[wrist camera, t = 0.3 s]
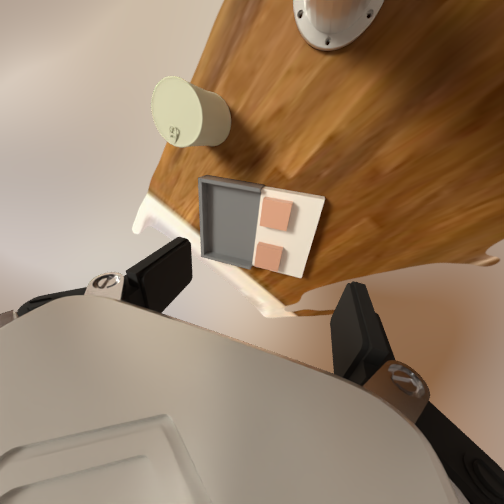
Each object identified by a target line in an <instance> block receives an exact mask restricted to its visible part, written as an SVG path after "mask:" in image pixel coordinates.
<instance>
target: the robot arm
mask: <svg viewBox="0 0 504 504" xmlns="http://www.w3.org/2000/svg"><path fill="white" fill-rule="evenodd" d="M383 2H384V0H293V8H294V16H295V20H296V24H297V27H298V30H299V32H300V34H301V36H302V37H303V38H304V40H305V41H306V42H307V43H308V44H309V45H311V46H312V47H313V48H316V49H318V50H323V51H332V50H337V49H340V48H342V47H345V46H346V45H348V44H350V43H351V42H353V41H354V40H355V39H357V38H358V37H359V36H360V35H361V34H362V33H363V32H364V31H365V30H366V29H367V28H368V26H369V25H370V24H371V23H372V21H373V20H374V18H375V17H376V15H377V14H378V12H379V10H380V8H381V6H382V4H383ZM300 15H302V18H300V19H299V16H300ZM368 15H370V18H369V19H368V18H367V16H368ZM327 42H329V45H326V43H327ZM126 273H127V275H125V276H123V275H122V274H120V273H115V272H110V273H104V274H101V275H98V276H97V277H95V278H93V279H92V280H91V281H90V282H89V284H88V286H87V287H85V288H80V289H75V290H70V291H65V292H58V293H53V294H48V295H43V296H39V297H36V298H33V299H32V300H30V301H28V302H26V303H25V304H23V305H22V306H21V307H20V308H19V309H18V312H14V311H13V310H11V311H8V312H5V313H2V314H0V504H504V471H503V470H502V469H501V468H500V467H499V466H498V464H497V463H495V461H493V460H492V459H491V458H490V457H489V456H488V455H487V454H486V453H485V452H484V451H483V450H481V449H480V448H479V447H478V446H477V445H476V444H475V443H474V442H473V441H472V440H471V439H470V438H469V437H467V436H466V435H465V434H464V433H463V432H462V431H461V430H460V429H459V428H458V427H457V426H456V425H454V424H453V423H452V422H451V421H450V420H449V419H448V418H447V417H446V416H445V415H444V414H442V413H441V412H440V411H439V410H438V409H437V408H436V407H435V406H434V405H433V404H432V403H430V401H429V398H430V392H429V388H428V386H427V384H426V383H425V381H424V380H423V379H422V377H421V376H420V375H419V374H418V373H417V372H416V371H415V370H413V369H412V368H411V367H409V366H408V365H406V364H404V363H402V362H399V361H396V360H395V358H394V355H393V352H392V350H391V347H390V344H389V341H388V339H387V336H386V333H385V331H384V328H383V325H382V322H381V320H380V317H379V315H378V314H377V313H375V311H374V308H373V305H372V302H371V300H370V297H369V294H368V291H367V288H366V286H365V284H361V283H358V282H352V283H348V284H347V285H346V288H345V290H344V292H343V294H342V296H341V298H340V300H339V302H338V305H337V307H336V309H335V311H334V313H333V315H332V317H331V322H330V326H331V340H332V353H333V366H334V374H333V373H330V372H327V371H324V370H322V369H319V368H317V367H314V366H311V365H308V364H306V363H303V362H300V361H298V360H295V359H292V358H289V357H286V356H283V355H280V354H278V353H275V352H272V351H269V350H266V349H263V348H261V347H258V346H255V345H252V344H249V343H246V342H244V341H240V340H238V339H235V338H232V337H229V336H226V335H223V334H220V333H218V332H215V331H212V330H209V329H206V328H203V327H200V326H197V325H194V324H191V323H188V322H185V321H182V320H180V319H177V318H173V317H171V316H167V315H165V314H162V312H163V311H164V309H165V308H166V307H167V306H168V305H169V304H170V303H171V302H172V301H173V300H174V299H175V298H176V297H177V296H178V295H179V293H180V292H181V291H182V290H183V289H184V288H185V287H186V286H187V285H188V284H189V283H190V281H191V280H192V258H191V243H190V242H189V240H188V239H185V238H181V237H177V238H176V239H174V240H173V241H171V242H169V243H168V244H167V245H165V246H163V247H162V248H160V249H159V250H157V251H156V252H154V253H152V254H151V255H149V256H148V257H147V258H145V259H144V260H142V261H140V262H139V263H137V264H136V265H134V266H132V267H131V268H129V269H128V270H126Z"/></svg>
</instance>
